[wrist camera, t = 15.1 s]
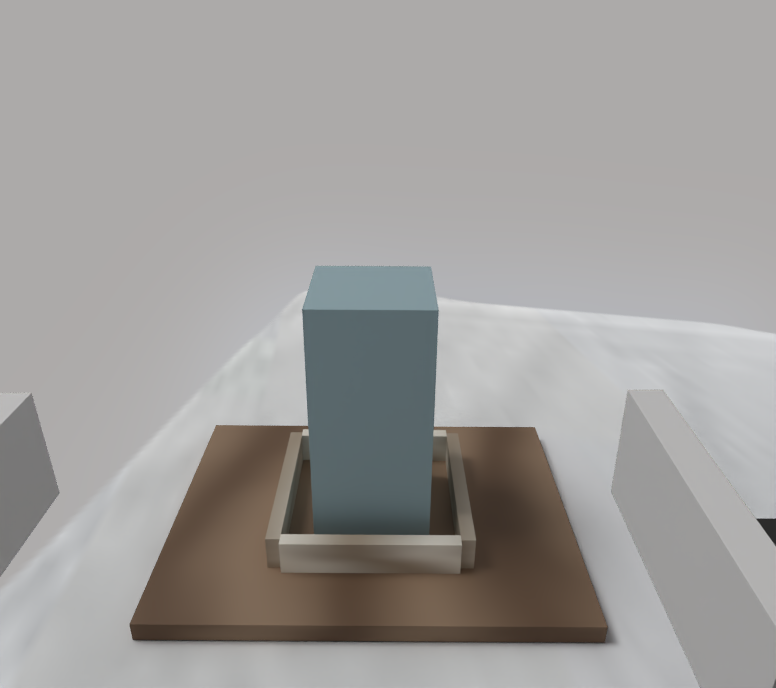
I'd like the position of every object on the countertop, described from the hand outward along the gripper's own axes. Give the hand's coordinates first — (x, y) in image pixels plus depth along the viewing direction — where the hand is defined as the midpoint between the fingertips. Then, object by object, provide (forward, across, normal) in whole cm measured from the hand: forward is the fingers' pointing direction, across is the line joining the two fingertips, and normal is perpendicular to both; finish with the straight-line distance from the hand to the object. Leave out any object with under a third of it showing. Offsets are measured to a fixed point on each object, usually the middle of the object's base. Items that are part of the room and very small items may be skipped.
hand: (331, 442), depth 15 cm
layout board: (+12, 0, -13) cm, 18 cm away
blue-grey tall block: (+12, 0, -12) cm, 17 cm away
